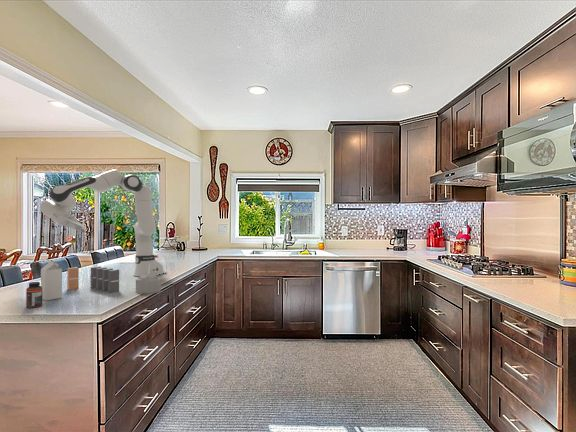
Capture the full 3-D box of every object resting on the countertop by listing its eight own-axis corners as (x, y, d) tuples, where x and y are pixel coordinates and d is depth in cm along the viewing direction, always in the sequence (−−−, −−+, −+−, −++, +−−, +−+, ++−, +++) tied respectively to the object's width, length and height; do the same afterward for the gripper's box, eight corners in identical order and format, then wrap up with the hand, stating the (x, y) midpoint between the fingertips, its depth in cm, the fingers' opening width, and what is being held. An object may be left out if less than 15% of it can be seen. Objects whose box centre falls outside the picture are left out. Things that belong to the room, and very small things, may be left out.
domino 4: (108, 292, 182) (108, 270, 182) (117, 290, 186) (117, 269, 186) (110, 292, 181) (110, 270, 181) (119, 291, 185) (119, 269, 185)
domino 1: (90, 287, 193) (90, 267, 193) (99, 286, 197) (99, 266, 197) (92, 288, 192) (92, 267, 192) (101, 286, 196) (101, 266, 196)
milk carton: (45, 301, 163) (45, 262, 163) (40, 298, 168) (40, 261, 168) (62, 298, 169) (62, 261, 169) (56, 296, 173) (57, 259, 173)
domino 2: (96, 289, 189) (96, 268, 189) (105, 287, 194) (105, 267, 194) (98, 289, 188) (98, 268, 188) (106, 288, 192) (107, 267, 192)
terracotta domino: (67, 289, 189) (67, 268, 189) (76, 287, 193) (76, 267, 193) (68, 289, 188) (69, 268, 188) (78, 288, 192) (78, 267, 192)
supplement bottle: (23, 307, 152) (24, 282, 152) (39, 304, 157) (39, 280, 157) (29, 309, 149) (29, 284, 149) (44, 306, 154) (44, 282, 154)
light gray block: (145, 288, 192) (145, 273, 192) (165, 290, 189) (165, 274, 189) (133, 292, 182) (133, 276, 182) (153, 294, 179) (153, 278, 179)
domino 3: (102, 290, 186) (102, 269, 186) (111, 289, 190) (111, 268, 190) (104, 291, 185) (104, 269, 185) (112, 289, 189) (113, 268, 189)
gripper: (55, 208, 192) (72, 220, 189) (77, 218, 211) (93, 230, 209) (47, 217, 190) (64, 229, 188) (70, 226, 210) (86, 238, 207)
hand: (79, 230), depth 198 cm, fingers open, 8 cm apart
